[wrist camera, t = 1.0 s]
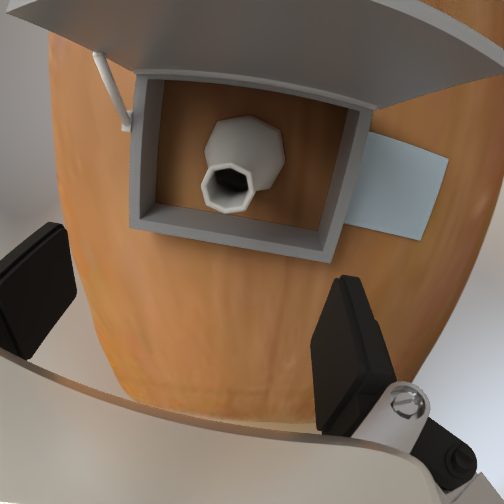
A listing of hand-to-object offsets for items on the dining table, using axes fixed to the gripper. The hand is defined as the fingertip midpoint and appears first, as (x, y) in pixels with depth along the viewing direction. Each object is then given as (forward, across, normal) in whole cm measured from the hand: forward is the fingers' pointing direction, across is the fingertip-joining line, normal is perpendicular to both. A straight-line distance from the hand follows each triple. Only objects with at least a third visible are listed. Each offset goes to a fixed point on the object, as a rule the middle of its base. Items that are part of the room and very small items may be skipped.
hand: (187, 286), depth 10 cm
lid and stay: (+16, 0, -6) cm, 17 cm away
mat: (+19, -14, 0) cm, 24 cm away
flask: (+19, 0, 0) cm, 19 cm away
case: (+19, 0, 0) cm, 19 cm away
